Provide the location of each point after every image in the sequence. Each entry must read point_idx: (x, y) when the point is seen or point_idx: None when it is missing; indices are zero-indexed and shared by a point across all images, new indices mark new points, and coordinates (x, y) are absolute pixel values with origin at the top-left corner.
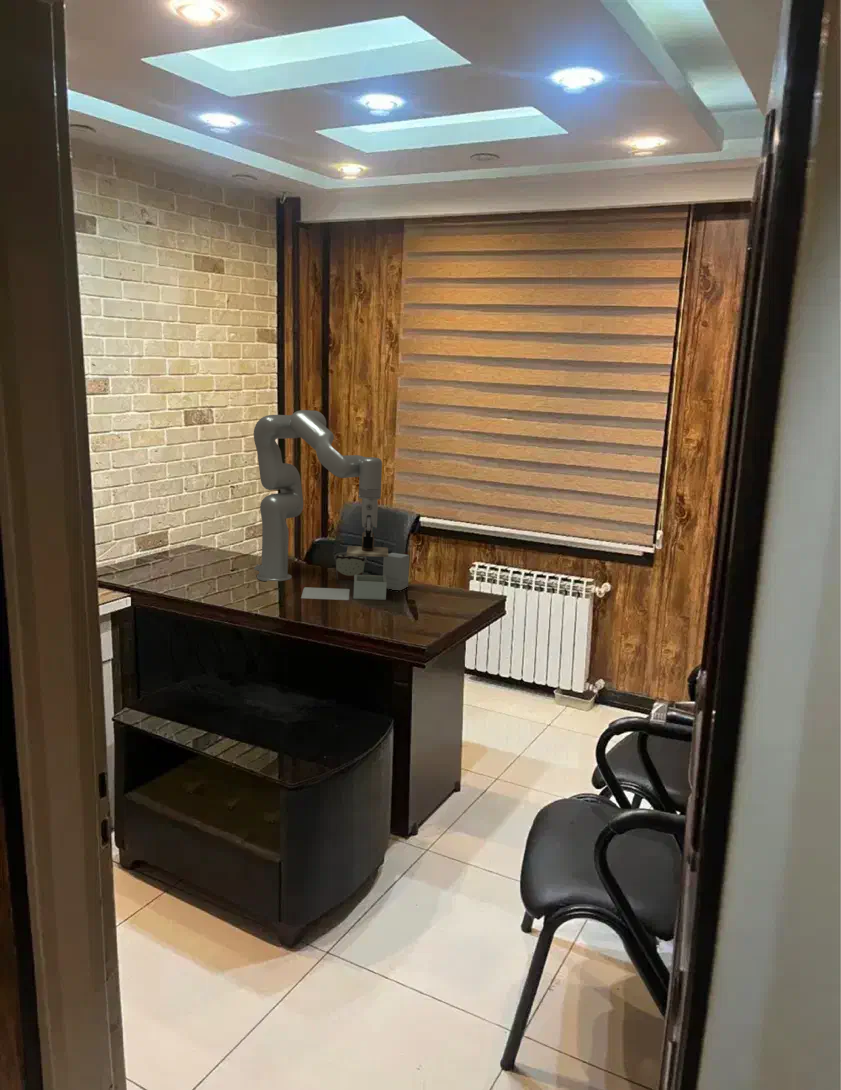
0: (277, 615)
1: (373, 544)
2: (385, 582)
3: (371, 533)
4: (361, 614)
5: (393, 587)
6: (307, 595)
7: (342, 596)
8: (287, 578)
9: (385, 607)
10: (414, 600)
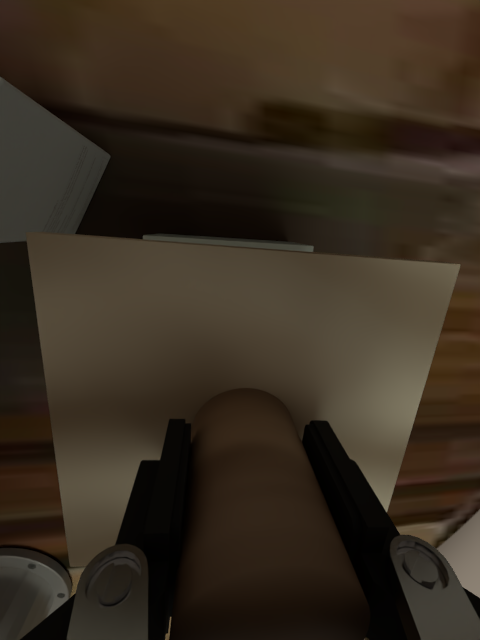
0: (433, 525)
1: (272, 427)
2: (308, 251)
3: (468, 616)
4: (453, 336)
5: (92, 184)
6: None
7: None
8: (38, 561)
9: (376, 250)
10: (266, 103)
